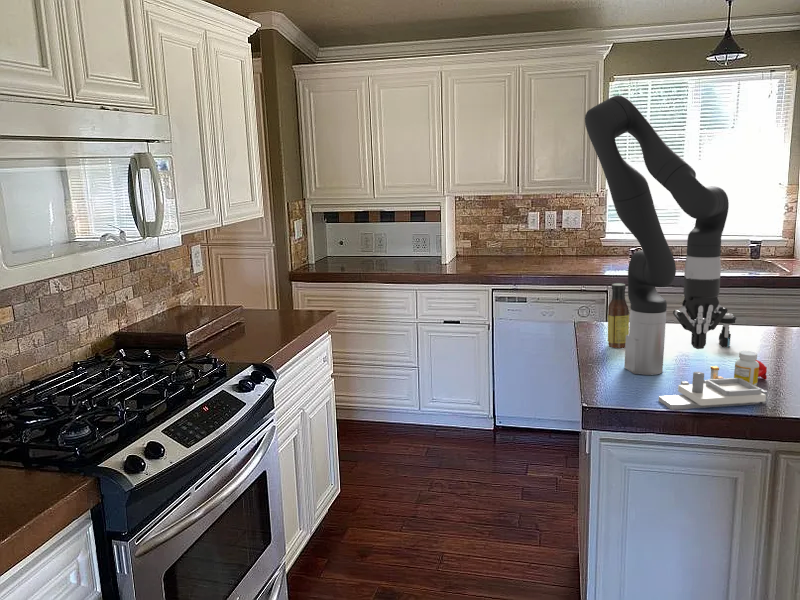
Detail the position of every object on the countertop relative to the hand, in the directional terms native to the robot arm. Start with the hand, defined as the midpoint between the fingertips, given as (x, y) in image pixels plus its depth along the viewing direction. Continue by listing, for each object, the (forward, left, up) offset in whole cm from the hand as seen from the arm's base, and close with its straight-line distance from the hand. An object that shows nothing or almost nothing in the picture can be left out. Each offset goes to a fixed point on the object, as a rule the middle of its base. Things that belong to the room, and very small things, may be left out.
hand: (698, 348), depth 155 cm
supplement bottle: (+18, +7, -14) cm, 24 cm away
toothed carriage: (+7, +1, -12) cm, 14 cm away
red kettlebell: (+24, +13, -14) cm, 31 cm away
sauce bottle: (+4, +50, -14) cm, 52 cm away
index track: (+5, +3, -14) cm, 15 cm away
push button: (+37, +46, -14) cm, 61 cm away
